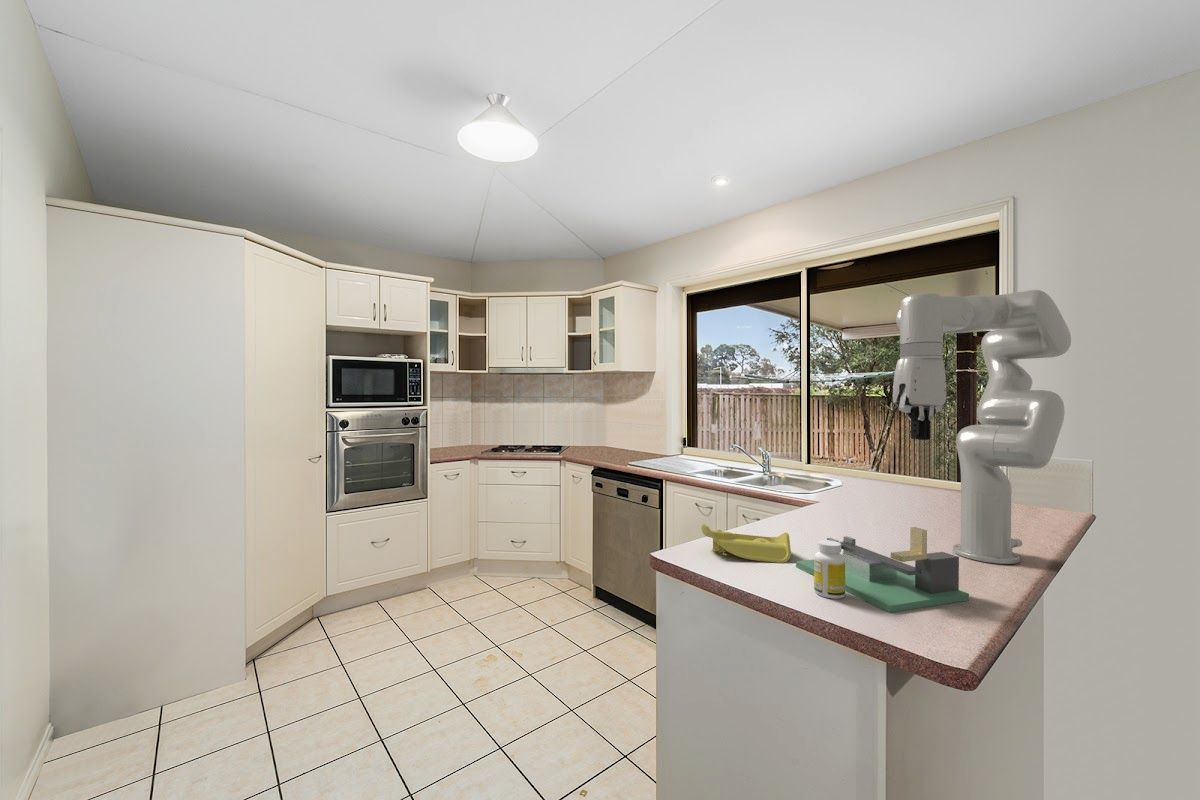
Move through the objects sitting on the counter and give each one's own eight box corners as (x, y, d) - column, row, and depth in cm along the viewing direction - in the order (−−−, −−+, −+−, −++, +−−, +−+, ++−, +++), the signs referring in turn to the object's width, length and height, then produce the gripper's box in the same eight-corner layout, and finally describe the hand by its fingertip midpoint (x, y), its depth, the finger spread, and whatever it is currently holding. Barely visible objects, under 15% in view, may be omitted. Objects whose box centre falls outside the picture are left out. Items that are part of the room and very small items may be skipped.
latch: (915, 555, 92) (915, 527, 92) (926, 559, 90) (927, 530, 90) (890, 557, 90) (890, 529, 90) (901, 562, 88) (902, 532, 88)
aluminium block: (868, 566, 104) (868, 550, 104) (896, 577, 97) (896, 560, 97) (842, 569, 102) (842, 553, 102) (869, 581, 95) (869, 563, 95)
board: (863, 559, 112) (864, 532, 113) (968, 600, 90) (969, 565, 90) (796, 566, 107) (796, 538, 107) (889, 612, 84) (889, 575, 84)
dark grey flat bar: (844, 545, 108) (844, 540, 108) (921, 574, 90) (921, 569, 90) (833, 546, 107) (833, 541, 107) (909, 576, 89) (909, 570, 89)
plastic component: (777, 538, 121) (790, 531, 112) (778, 569, 118) (792, 563, 109) (698, 530, 123) (704, 522, 114) (697, 560, 120) (704, 554, 111)
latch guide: (942, 583, 94) (942, 551, 94) (958, 589, 91) (958, 556, 91) (915, 587, 92) (915, 554, 92) (930, 593, 89) (931, 560, 89)
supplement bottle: (849, 594, 92) (849, 543, 92) (839, 602, 88) (839, 549, 88) (820, 586, 96) (820, 537, 96) (809, 593, 92) (809, 542, 92)
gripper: (930, 355, 108) (930, 437, 108) (878, 353, 103) (877, 438, 103) (964, 352, 100) (964, 440, 100) (909, 349, 96) (909, 441, 96)
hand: (920, 439), depth 102 cm, fingers closed
